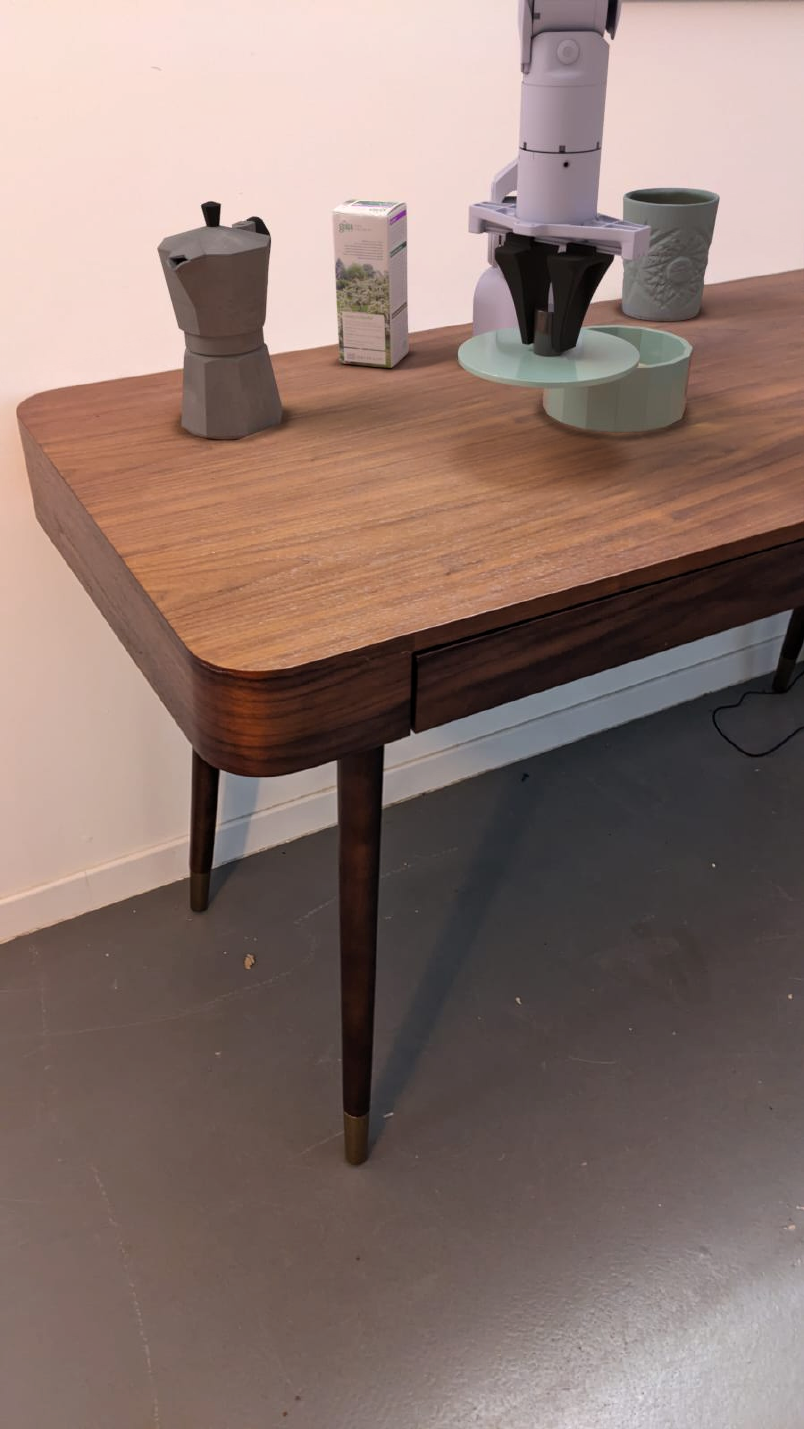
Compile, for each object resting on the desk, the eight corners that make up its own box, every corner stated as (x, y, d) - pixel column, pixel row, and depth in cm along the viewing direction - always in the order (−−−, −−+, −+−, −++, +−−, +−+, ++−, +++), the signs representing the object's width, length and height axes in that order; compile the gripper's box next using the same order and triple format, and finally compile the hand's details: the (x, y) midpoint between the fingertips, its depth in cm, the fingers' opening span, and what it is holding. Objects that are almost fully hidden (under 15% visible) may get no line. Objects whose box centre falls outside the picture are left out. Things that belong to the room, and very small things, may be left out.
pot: (516, 416, 99) (519, 348, 96) (593, 381, 107) (598, 317, 103) (634, 449, 93) (642, 377, 89) (708, 409, 100) (718, 342, 97)
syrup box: (410, 352, 115) (408, 199, 107) (391, 370, 110) (388, 211, 102) (358, 348, 116) (352, 196, 108) (337, 365, 112) (329, 208, 104)
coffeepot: (244, 455, 93) (221, 222, 83) (147, 441, 96) (113, 214, 86) (323, 395, 105) (311, 185, 94) (234, 384, 108) (213, 179, 97)
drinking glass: (684, 328, 121) (699, 207, 114) (597, 315, 125) (607, 198, 118) (717, 306, 127) (733, 191, 121) (634, 294, 132) (645, 183, 125)
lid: (420, 370, 86) (420, 311, 83) (528, 329, 94) (531, 274, 92) (570, 410, 78) (574, 347, 76) (672, 362, 87) (679, 303, 84)
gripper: (442, 144, 79) (441, 339, 87) (617, 166, 71) (599, 378, 79) (503, 132, 84) (497, 319, 91) (675, 151, 76) (652, 353, 83)
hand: (548, 345), depth 85 cm, fingers closed on lid, 2 cm apart
